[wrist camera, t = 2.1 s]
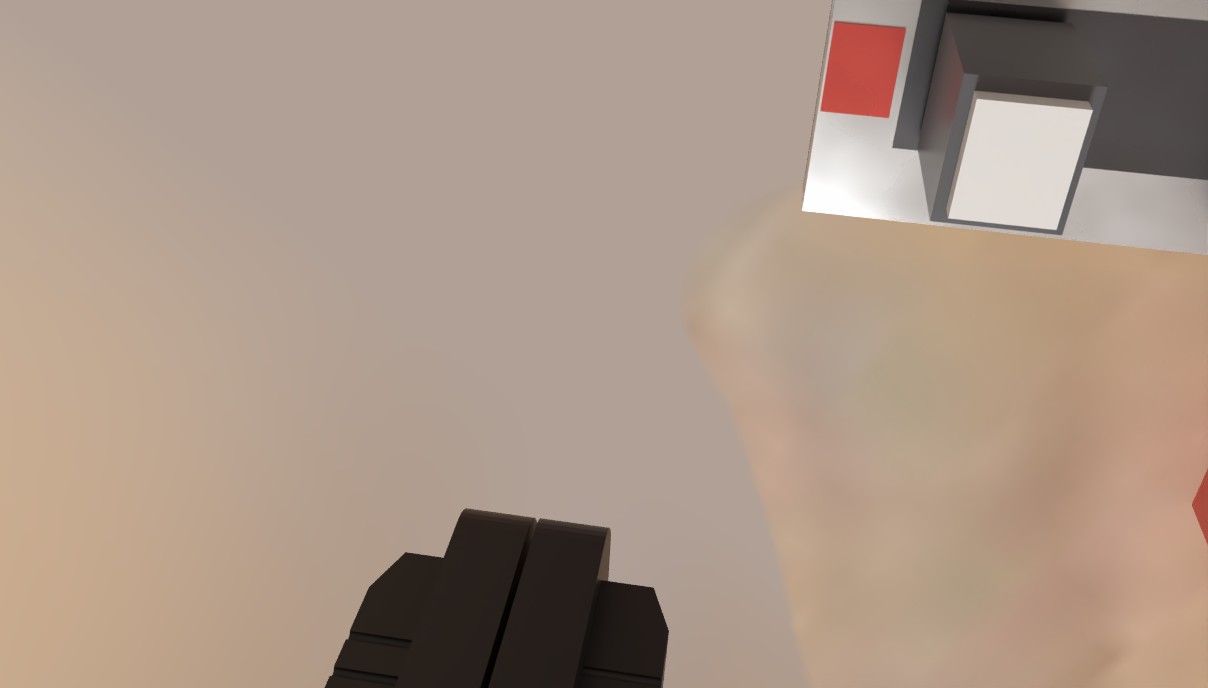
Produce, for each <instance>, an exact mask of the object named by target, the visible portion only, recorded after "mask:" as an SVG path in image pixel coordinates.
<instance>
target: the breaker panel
mask: <svg viewBox="0 0 1208 688" xmlns="http://www.w3.org/2000/svg"><path fill="white" fill-rule="evenodd" d="M946 12H948V13H959V14H970V15H981V16H992V17H1004V18H1015V19H1026V20H1037V21H1049V22H1060V23H1071V24H1073V26H1074V28H1075V30H1076V31H1077V33H1078V35H1079V37H1080V39H1081V40H1082V42H1083V44H1084V46H1085V47H1086V49H1087V51H1088V53H1089V54H1090V56H1091V58H1092V60H1093V62H1094V63H1095V65H1096V67H1097V69H1098V70H1099V72H1100V74H1101V76H1102V77H1103V79H1104V81H1105V83H1106V85H1107V86H1108V88H1107V91H1106V95H1105V98H1104V101H1103V104H1102V108H1101V111H1100V114H1099V117H1098V121H1097V124H1096V127H1095V130H1094V134H1093V137H1092V140H1091V143H1090V147H1089V150H1088V153H1087V156H1086V160H1085V163H1084V166H1083V169H1082V172H1081V176H1080V179H1079V182H1078V185H1077V189H1076V192H1075V195H1074V198H1073V202H1072V205H1071V208H1070V211H1069V215H1068V218H1067V221H1066V224H1065V228H1064V231H1063V234H1062V235H1053V234H1044V233H1035V232H1026V231H1017V230H1007V229H998V228H989V227H980V226H971V225H962V224H952V223H943V222H934V221H930V219H929V213H928V207H927V201H926V195H925V189H924V183H923V177H922V171H921V165H920V160H919V154H918V148H917V147H918V142H919V138H920V133H921V128H922V124H923V119H924V114H925V110H926V105H927V100H928V96H929V91H930V86H931V82H932V77H933V72H934V68H935V63H936V58H937V54H938V49H939V44H940V40H941V35H942V30H943V26H944V21H945V17H946ZM802 211H810V212H819V213H829V214H838V215H847V216H856V217H865V218H874V219H883V220H893V221H902V222H911V223H920V224H929V225H938V226H948V227H957V228H966V229H975V230H984V231H993V232H1002V233H1012V234H1021V235H1030V236H1039V237H1048V238H1057V239H1067V240H1076V241H1085V242H1094V243H1103V244H1112V245H1121V246H1131V247H1140V248H1149V249H1158V250H1167V251H1176V252H1186V253H1195V254H1204V255H1208V0H832V5H831V11H830V17H829V24H828V30H827V37H826V43H825V49H824V56H823V62H822V69H821V75H820V82H819V88H818V95H817V101H816V107H815V114H814V120H813V127H812V133H811V140H810V146H809V152H808V159H807V165H806V171H805V178H804V184H803V201H802Z"/></svg>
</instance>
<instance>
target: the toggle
mask: <svg viewBox="0 0 1208 688" xmlns="http://www.w3.org/2000/svg"><path fill="white" fill-rule="evenodd" d="M1107 88H1108V86H1107V85H1106V83H1105V81H1104V79H1103V77H1102V76H1101V74H1100V72H1099V70H1098V69H1097V67H1096V65H1095V63H1094V62H1093V60H1092V58H1091V56H1090V54H1089V53H1088V51H1087V49H1086V47H1085V46H1084V44H1083V42H1082V40H1081V39H1080V37H1079V35H1078V33H1077V31H1076V30H1075V28H1074V26H1073V24H1071V23H1060V22H1049V21H1037V20H1026V19H1015V18H1004V17H992V16H981V15H970V14H959V13H948V12H946V17H945V21H944V26H943V30H942V35H941V40H940V44H939V49H938V54H937V58H936V63H935V68H934V72H933V77H932V82H931V86H930V91H929V96H928V100H927V105H926V110H925V114H924V119H923V124H922V128H921V133H920V138H919V142H918V147H917V148H918V154H919V160H920V165H921V171H922V177H923V183H924V189H925V195H926V201H927V207H928V213H929V219H930V221H934V222H943V223H952V224H962V225H971V226H980V227H989V228H998V229H1007V230H1017V231H1026V232H1035V233H1044V234H1053V235H1062V234H1063V231H1064V228H1065V224H1066V221H1067V218H1068V215H1069V211H1070V208H1071V205H1072V202H1073V198H1074V195H1075V192H1076V189H1077V185H1078V182H1079V179H1080V176H1081V172H1082V169H1083V166H1084V163H1085V160H1086V156H1087V153H1088V150H1089V147H1090V143H1091V140H1092V137H1093V134H1094V130H1095V127H1096V124H1097V121H1098V117H1099V114H1100V111H1101V108H1102V104H1103V101H1104V98H1105V95H1106V91H1107Z"/></svg>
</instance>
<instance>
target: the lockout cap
mask: <svg viewBox="0 0 1208 688" xmlns="http://www.w3.org/2000/svg"><path fill="white" fill-rule="evenodd" d="M1192 507H1193V509H1194V512H1195V514H1196V517H1197V519H1198V522H1199V524H1200V527H1201V529H1202V532H1203V534H1204V537H1205V539H1206V542H1207V544H1208V470H1207V472H1206V475H1205V477H1204V479H1203V481H1202V483H1201V486H1200V488H1199V490H1198V492H1197V494H1196V497H1195V499H1194V501H1193V503H1192Z"/></svg>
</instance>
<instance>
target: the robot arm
mask: <svg viewBox="0 0 1208 688" xmlns="http://www.w3.org/2000/svg"><path fill="white" fill-rule="evenodd" d="M610 541H611V531H610V528H605V527H598V526H590V525H584V524H577V523H569V522H561V521H555V520H547V519H541V518H540V519H539V521H538V522H537V521H536V519H535V518H531V517H523V516H517V515H510V514H502V513H495V512H488V511H481V510H474V509H464V510H463V512H462V513H461V515H460V517H459V519H458V522H457V524H456V527H455V529H454V532H453V535H452V537H451V540H450V542H449V545H448V548H447V551H446V553H445V556H444V558H441V557H434V556H427V555H420V554H413V553H407V552H406V553H404V555H402V556H401V557H400V558H399V559H398V560H397V561H396V562H395V563H394V564H393V565H392V566H391V567H390V568H389V569H388V570H387V571H386V572H385V573H384V574H382V575H381V576H380V577H379V578H378V579H377V580H376V581H375V582H374V583H373V584H372V585H371V586H370V587H369V589H368V591H367V593H366V595H365V598H364V600H363V602H362V604H361V607H360V609H359V611H358V613H357V616H356V618H355V620H354V623H353V625H352V627H351V629H350V636H349V639H348V640H346V641H345V643H344V645H343V648H342V650H341V652H340V654H339V656H338V659H337V661H336V663H335V666H334V672H333V675H332V676H330V677H329V679H328V681H327V684H326V686H325V688H663V680H664V671H665V662H666V653H667V644H668V633H669V630H668V627H667V625H666V622H665V619H664V616H663V613H662V610H661V607H660V605H659V602H658V599H657V596H656V593H655V590H654V588H651V587H645V586H638V585H631V584H624V583H617V582H610V581H608V574H609V556H610Z"/></svg>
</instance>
